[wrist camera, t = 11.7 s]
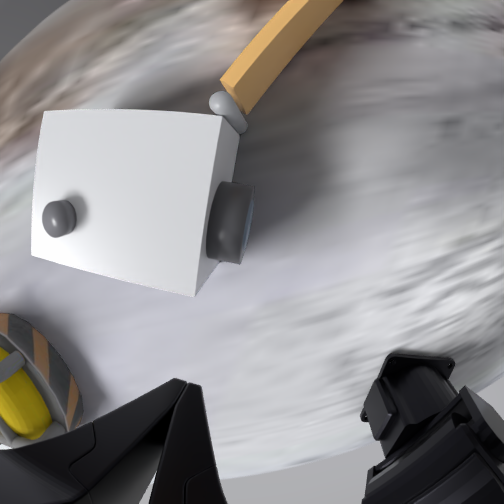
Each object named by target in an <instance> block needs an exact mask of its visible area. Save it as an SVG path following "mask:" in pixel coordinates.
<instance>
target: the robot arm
mask: <svg viewBox="0 0 504 504" xmlns="http://www.w3.org/2000/svg"><path fill="white" fill-rule="evenodd" d="M392 359H394V361H393V362H390V361H391V360H392ZM449 364H450V365H449ZM448 365H449V366H448ZM454 366H455V362H454V360H453V359H452V358H440V357H426V356H414V355H403V354H390V355H388V356H387V357H386V359H385V361H384V363H383V366H382V368H381V371H380V373H379V375H378V378H377V379H376V380H375V381H374V382H373V385H372V387H371V389H370V391H369V394H368V396H367V398H366V400H365V402H364V408H363V410H362V412H361V414H360V418H361V421H363V422H369V424H370V427H371V430H372V434H373V437H374V439H375V440H376V441H380V443H381V446H382V449H383V452H384V456H385V458H386V459H385V460H383V461H382V462H381V463H379V464H378V465H377V466H373V467H372V468H371V469H369V470H368V474H367V483H366V490H365V497H364V498H363V499H362V503H361V504H504V420H503V419H502V418H501V417H500V415H499V414H498V413H497V412H496V411H495V410H494V408H493V407H492V406H491V405H490V404H488V403H487V402H486V401H484V400H483V399H482V398H481V397H479V396H478V395H477V394H476V393H474V392H473V391H472V390H470V389H469V388H468V387H467V386H464V387H463V388H462V389H461V390H460V391H459V394H458V392H457V391H456V390H455V388H454V387H453V386H452V384H451V383H450V381H449V380H448V379H449V377H450V375H451V373H452V371H453V368H454ZM365 416H367V417H365ZM156 471H157V472H156ZM155 473H156V476H155V480H154V484H153V488H152V492H151V496H150V500H149V504H227V501H226V498H225V496H224V493H223V490H222V487H221V483H220V479H219V475H218V470H217V467H216V462H215V457H214V452H213V447H212V442H211V437H210V431H209V426H208V420H207V415H206V409H205V403H204V398H203V392H202V387H201V386H200V385H197V384H193V383H188V384H187V382H186V381H184V380H180V379H177V378H173V379H171V380H170V381H168V382H166V383H164V384H162V385H161V386H159V387H157V388H155V389H153V390H151V391H150V392H148V393H146V394H144V395H142V396H140V397H138V398H137V399H135V400H133V401H131V402H129V403H127V404H125V405H123V406H121V407H119V408H117V409H116V410H114V411H112V412H110V413H108V414H106V415H104V416H102V417H100V418H98V419H96V420H94V421H93V423H92V422H89V423H87V424H85V425H83V426H81V427H79V428H76V429H74V430H72V431H70V432H67V433H64V434H62V435H59V436H56V437H53V438H50V439H46V440H43V441H40V442H36V443H33V444H29V445H26V446H22V447H18V448H14V449H7V450H0V504H139V502H140V500H141V499H142V497H143V495H144V493H145V491H146V489H147V488H148V486H149V484H150V482H151V480H152V478H153V477H154V475H155Z"/></svg>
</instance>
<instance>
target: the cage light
mask: <svg viewBox="0 0 504 504" xmlns="http://www.w3.org/2000/svg"><path fill="white" fill-rule="evenodd" d="M82 415H83V405H82V398H81V394H80V392H79V390H78V387H77V385H76V382H75V380H74V377H73V376H72V374H71V373H70V371H69V369H68V368H67V366H66V365H65V363H64V361H63V360H62V358H61V356H60V355H59V354H58V353H57V352H56V350H55V349H54V348H53V347H52V346H51V344H50V343H49V342H48V341H47V340H46V338H45V337H44V336H43V335H42V334H40V333H39V332H38V331H37V330H36V329H35V328H34V327H32V326H31V325H30V324H29V323H28V322H26V321H24V320H23V319H21V318H19V317H17V316H15V315H13V314H6V313H0V445H1V444H4V445H6V446H9V447H12V448H13V449H14V448H18V447H22V446H26V445H29V444H33V443H36V442H40V441H43V440H46V439H50V438H53V437H56V436H59V435H62V434H64V433H67V432H70V431H72V430H74V429H76V427H77V426H78V425H79V423H80V421H81V418H82Z"/></svg>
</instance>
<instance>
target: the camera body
mask: <svg viewBox="0 0 504 504" xmlns="http://www.w3.org/2000/svg"><path fill="white" fill-rule="evenodd" d="M239 139H240V135H239V134H238V133H237V132H236V131H235V130H234V129H233V127H232V126H231V125H230V124H229V123H228V122H227V121H226V120H225V118H224V117H223V116H217V115H208V114H198V113H187V112H174V111H158V110H135V109H78V110H56V111H44V115H43V120H42V125H41V131H40V137H39V144H38V151H37V158H36V167H35V177H34V188H33V204H32V255H33V256H36V257H39V258H43V259H46V260H50V261H53V262H56V263H60V264H63V265H67V266H70V267H74V268H78V269H81V270H85V271H89V272H92V273H96V274H100V275H104V276H107V277H111V278H115V279H119V280H123V281H127V282H131V283H135V284H139V285H143V286H147V287H151V288H156V289H160V290H164V291H168V292H173V293H177V294H182V295H186V296H191V297H195V296H196V294H197V293H198V292H199V290H200V289H201V287H202V286H203V285H204V283H205V282H206V280H207V279H208V278H209V276H210V275H211V273H212V272H213V271H214V269H215V268H216V267H217V265H218V264H219V261H225V262H230V263H235V264H240V263H241V261H242V258H243V254H244V251H245V249H246V245H247V241H248V237H249V232H250V227H251V222H252V216H253V209H254V194H255V187H254V186H250V185H244V184H238V183H232V178H233V172H234V167H235V161H236V155H237V150H238V144H239Z"/></svg>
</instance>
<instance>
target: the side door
mask: <svg viewBox="0 0 504 504" xmlns="http://www.w3.org/2000/svg"><path fill="white" fill-rule="evenodd" d="M343 1H344V0H289V1H288V2H287V3H286V4H285V5H284V6H283V7H282V8H281V9H280V10H279V11H278V12H277V13H276V14H275V15H274V17H273V18H272V19H271V20H270V21H269V22H268V23H267V24H266V25H265V26H264V27H263V29H262V30H261V31H260V32H259V33H258V34H257V35H256V36H255V38H254V39H253V40H252V41H251V42H250V43H249V45H248V46H247V47H246V48H245V49H244V50H243V52H242V53H241V54H240V55H239V56H238V58H237V59H236V60H235V61H234V63H233V64H232V65H231V66H230V67H229V69H228V70H227V71H226V73H225V74H224V75H223V76H222V78H221V79H220V81H221V82H222V84H223V86H224V87H225V89H226V91H227V92H225V91H218V92H216V93H214V94H213V95H212V96H211V98H210V100H209V106H210V108H211V109H212V111H213V112H214V113H215V114H216V115H217V116H223V117H224V118H225V120H226V121H227V122H228V123H229V124H230V125H231V126H232V127H233V129H234V130H235V131H236V132H237V133H238V134H242V133H244V132H245V131H246V130H247V126H248V125H247V122H246V120H245V119H244V117H243V115H242V113H241V112H243V113H244V114H246V115H248V114H249V112H250V111H251V110H252V108H253V107H254V106H255V105H256V103H257V102H258V101H259V99H260V98H261V97H262V95H263V94H264V93H265V92H266V90H267V89H268V88H269V86H270V85H271V84H272V83H273V81H274V80H275V79H276V78H277V76H278V75H279V74H280V73H281V71H282V70H283V69H284V68H285V67H286V65H287V64H288V63H289V62H290V60H291V59H292V58H293V57H294V56H295V54H296V53H297V52H298V51H299V50H300V49H301V47H302V46H303V45H304V44H305V43H306V42H307V40H308V39H309V38H310V37H311V36H312V35H313V33H314V32H315V31H316V30H317V29H318V28H319V27H320V26H321V24H322V23H323V22H324V21H325V20H326V19H327V18H328V17H329V16H330V14H331V13H332V12H333V11H334V10H335V9H336V8H337V7H338V6H339V5H340V4H341V3H342V2H343ZM240 111H241V112H240Z"/></svg>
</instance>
